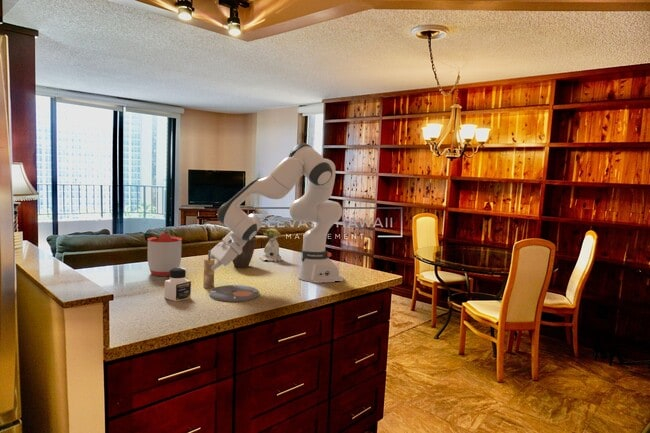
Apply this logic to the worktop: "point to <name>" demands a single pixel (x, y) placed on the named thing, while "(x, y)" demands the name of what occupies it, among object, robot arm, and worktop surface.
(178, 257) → the citrus juicer
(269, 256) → the green headed figurine
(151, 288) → the worktop surface
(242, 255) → the plant pot
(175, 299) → the medicine bottle
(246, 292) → the dial plate
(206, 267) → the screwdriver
